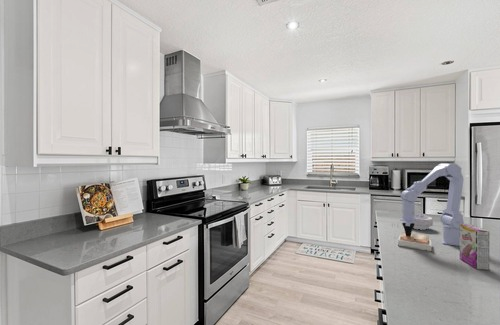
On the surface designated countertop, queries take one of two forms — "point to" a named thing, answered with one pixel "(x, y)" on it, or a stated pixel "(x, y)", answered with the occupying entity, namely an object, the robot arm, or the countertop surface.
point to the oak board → (417, 236)
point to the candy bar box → (474, 246)
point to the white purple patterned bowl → (422, 222)
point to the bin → (414, 244)
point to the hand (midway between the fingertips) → (408, 236)
